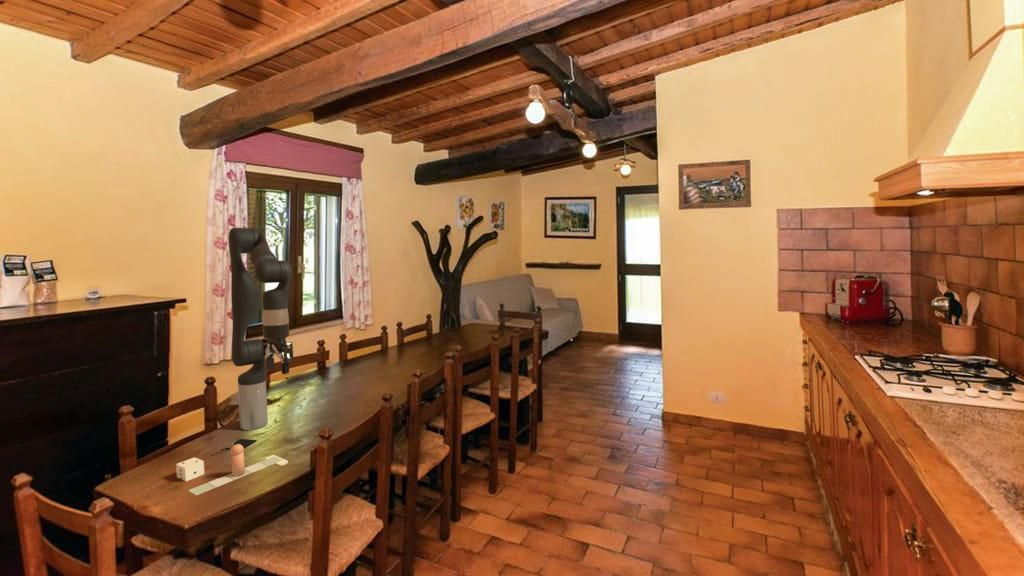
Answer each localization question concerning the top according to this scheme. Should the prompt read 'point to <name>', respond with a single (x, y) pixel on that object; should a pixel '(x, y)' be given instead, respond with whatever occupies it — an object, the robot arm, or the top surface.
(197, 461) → the die
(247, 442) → the smartphone
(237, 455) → the pawn
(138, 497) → the top surface
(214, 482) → the board
